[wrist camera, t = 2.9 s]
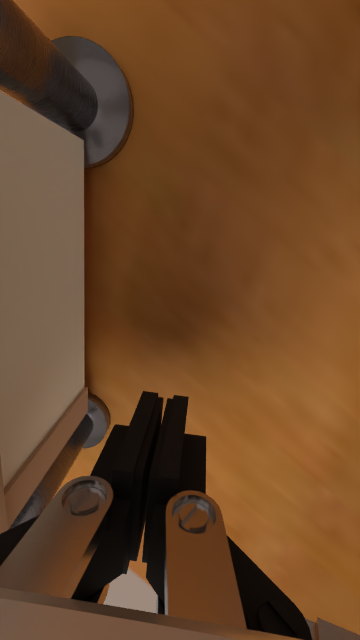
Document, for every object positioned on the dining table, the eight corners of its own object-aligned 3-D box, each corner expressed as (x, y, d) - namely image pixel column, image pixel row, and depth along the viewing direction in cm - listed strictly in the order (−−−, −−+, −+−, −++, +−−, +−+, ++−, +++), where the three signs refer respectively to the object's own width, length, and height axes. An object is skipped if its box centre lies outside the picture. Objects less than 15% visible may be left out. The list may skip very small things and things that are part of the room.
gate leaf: (49, 137, 14) (-220, 5, 6) (92, 141, 14) (-114, 10, 5) (58, 407, 19) (-84, 575, 10) (91, 411, 19) (-24, 586, 10)
